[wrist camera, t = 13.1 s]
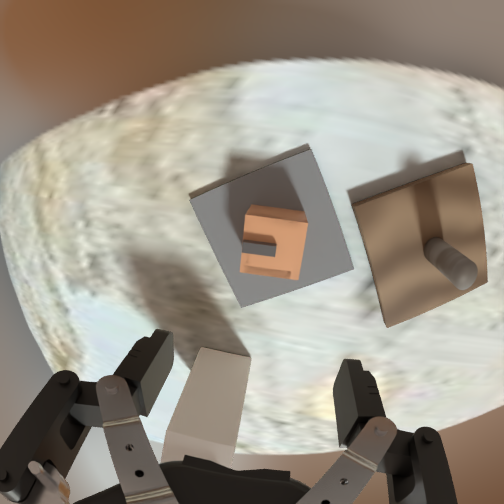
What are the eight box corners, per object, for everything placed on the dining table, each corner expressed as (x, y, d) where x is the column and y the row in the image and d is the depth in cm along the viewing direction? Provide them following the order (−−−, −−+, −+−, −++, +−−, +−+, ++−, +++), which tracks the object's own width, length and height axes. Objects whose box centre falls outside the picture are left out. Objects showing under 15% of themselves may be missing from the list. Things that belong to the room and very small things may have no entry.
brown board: (482, 277, 31) (517, 308, 23) (383, 321, 35) (404, 366, 26) (465, 162, 27) (512, 171, 18) (351, 204, 30) (374, 225, 22)
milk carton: (200, 345, 39) (154, 459, 21) (252, 356, 38) (229, 478, 21) (198, 380, 41) (159, 485, 23) (244, 390, 41) (222, 500, 23)
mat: (353, 267, 33) (354, 269, 32) (241, 305, 36) (241, 307, 35) (310, 149, 29) (311, 149, 28) (191, 199, 32) (189, 200, 31)
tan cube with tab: (304, 211, 31) (308, 225, 25) (296, 261, 32) (298, 283, 27) (251, 204, 31) (244, 216, 25) (246, 254, 33) (238, 275, 27)
